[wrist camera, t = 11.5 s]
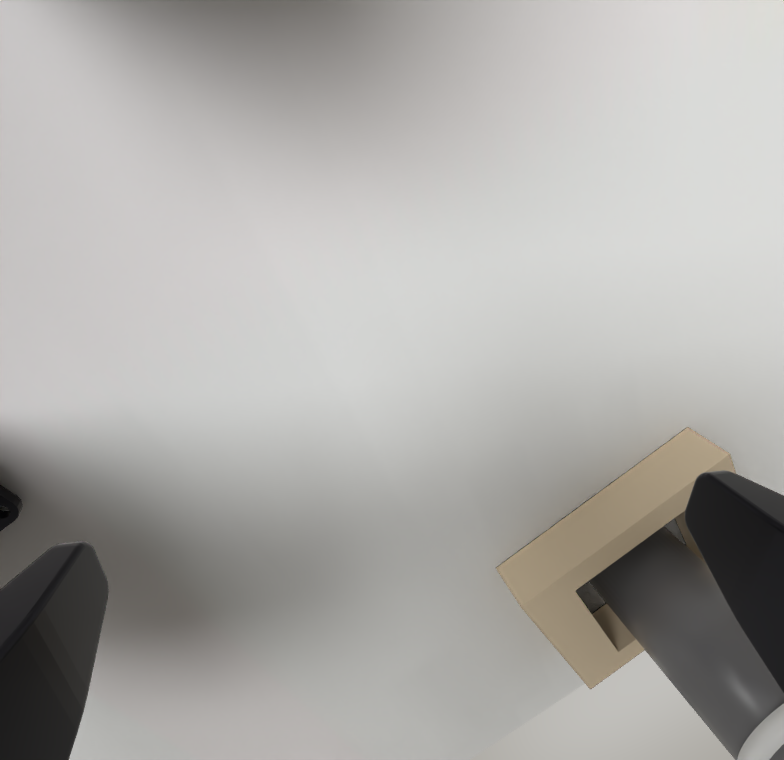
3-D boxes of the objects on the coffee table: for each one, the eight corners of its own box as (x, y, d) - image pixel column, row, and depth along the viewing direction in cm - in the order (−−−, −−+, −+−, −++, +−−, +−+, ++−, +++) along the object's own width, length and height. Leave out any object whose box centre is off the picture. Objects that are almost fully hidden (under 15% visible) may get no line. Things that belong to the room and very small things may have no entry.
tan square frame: (564, 651, 32) (597, 699, 29) (495, 568, 27) (527, 617, 24) (726, 533, 32) (773, 571, 29) (687, 427, 27) (741, 461, 24)
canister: (572, 593, 30) (765, 844, 19) (586, 521, 27) (813, 762, 17) (649, 572, 31) (867, 795, 21) (668, 501, 29) (925, 713, 18)
